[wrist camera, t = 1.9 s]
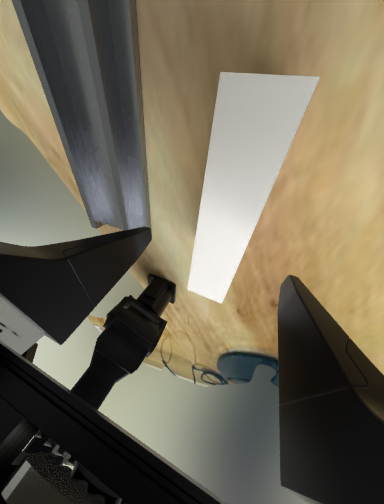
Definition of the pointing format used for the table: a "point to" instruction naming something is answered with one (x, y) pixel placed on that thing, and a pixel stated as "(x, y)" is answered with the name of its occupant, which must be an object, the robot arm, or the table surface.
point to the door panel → (242, 169)
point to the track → (94, 100)
